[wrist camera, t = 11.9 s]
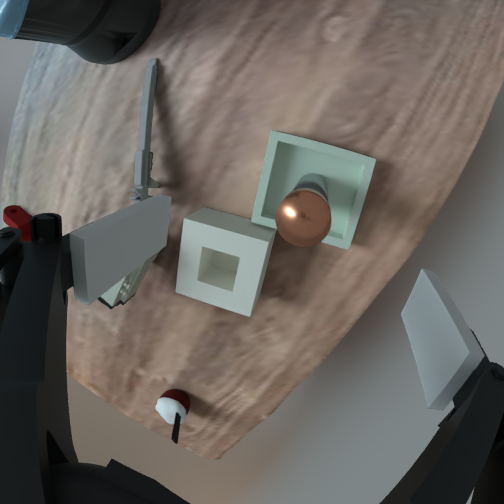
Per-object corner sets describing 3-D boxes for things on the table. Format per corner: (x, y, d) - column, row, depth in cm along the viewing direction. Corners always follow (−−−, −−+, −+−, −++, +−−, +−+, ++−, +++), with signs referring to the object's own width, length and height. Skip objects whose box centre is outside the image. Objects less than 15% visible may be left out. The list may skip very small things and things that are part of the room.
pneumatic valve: (126, 263, 46) (78, 297, 35) (155, 205, 41) (102, 230, 30) (152, 284, 46) (108, 324, 35) (185, 228, 41) (138, 261, 30)
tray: (274, 130, 34) (270, 130, 32) (372, 158, 32) (376, 159, 30) (255, 216, 38) (250, 221, 36) (347, 243, 37) (348, 250, 35)
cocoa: (165, 398, 58) (138, 439, 47) (158, 379, 55) (128, 421, 44) (205, 411, 55) (181, 456, 44) (201, 391, 53) (174, 439, 42)
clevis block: (203, 206, 40) (184, 218, 34) (277, 226, 38) (268, 242, 33) (193, 272, 44) (175, 292, 38) (260, 293, 42) (249, 316, 37)
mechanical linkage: (15, 231, 52) (-1, 238, 48) (16, 203, 49) (-1, 209, 45) (56, 267, 52) (40, 277, 47) (59, 237, 49) (41, 246, 44)
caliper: (161, 199, 41) (137, 210, 35) (155, 199, 41) (130, 210, 36) (158, 58, 34) (132, 49, 28) (151, 59, 34) (125, 51, 28)
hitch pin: (300, 167, 34) (282, 185, 21) (333, 176, 34) (338, 201, 20) (292, 199, 36) (269, 238, 22) (324, 208, 35) (322, 253, 22)
